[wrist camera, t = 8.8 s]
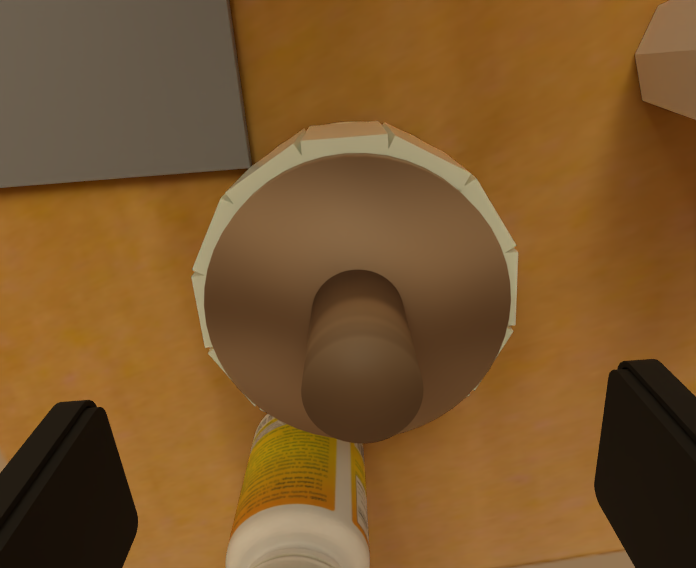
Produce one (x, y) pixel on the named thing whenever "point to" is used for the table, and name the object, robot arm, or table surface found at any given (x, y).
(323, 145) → the bowl
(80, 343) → the table surface
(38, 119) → the mat
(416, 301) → the lid
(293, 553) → the supplement bottle
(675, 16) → the low poly bottle
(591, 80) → the table surface
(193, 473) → the table surface
